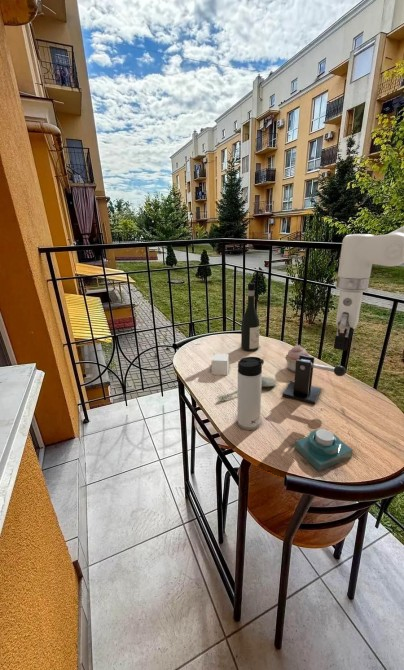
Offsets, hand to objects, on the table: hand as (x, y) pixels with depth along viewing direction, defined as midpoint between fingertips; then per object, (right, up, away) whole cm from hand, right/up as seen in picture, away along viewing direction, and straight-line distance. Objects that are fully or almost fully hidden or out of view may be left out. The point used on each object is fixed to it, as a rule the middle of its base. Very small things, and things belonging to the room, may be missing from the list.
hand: (342, 343), depth 80 cm
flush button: (-11, -23, -14) cm, 29 cm away
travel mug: (-27, -23, -1) cm, 35 cm away
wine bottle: (-18, -4, +49) cm, 52 cm away
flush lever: (-4, -9, +6) cm, 11 cm away
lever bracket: (-7, -17, +12) cm, 22 cm away
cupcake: (-4, -11, +28) cm, 31 cm away
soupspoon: (-25, -17, +15) cm, 33 cm away
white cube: (-33, -12, +29) cm, 46 cm away
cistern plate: (-11, -26, -12) cm, 31 cm away
